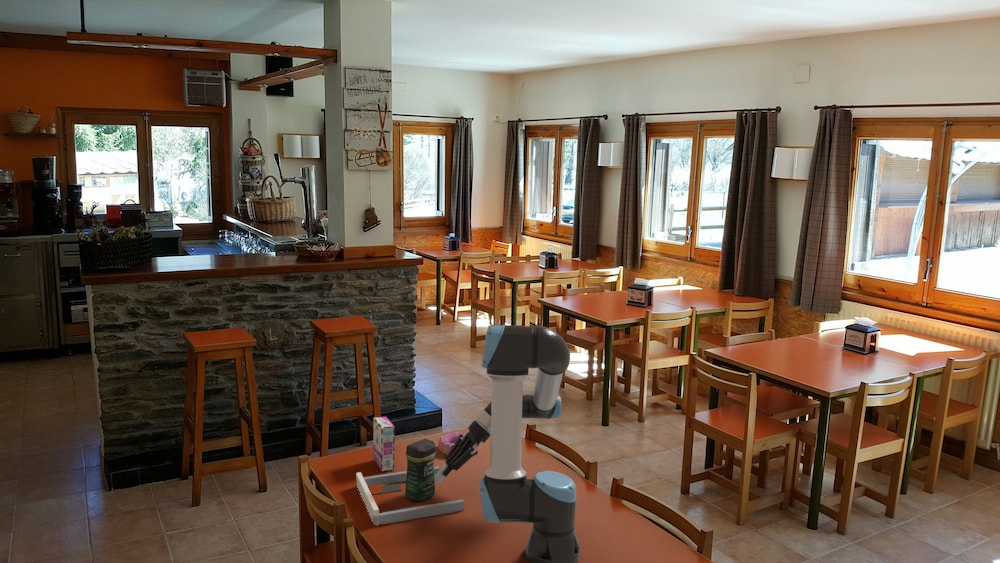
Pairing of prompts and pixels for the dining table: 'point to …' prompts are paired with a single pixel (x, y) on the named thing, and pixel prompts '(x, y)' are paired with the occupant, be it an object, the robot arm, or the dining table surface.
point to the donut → (448, 441)
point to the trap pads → (391, 488)
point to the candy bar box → (383, 443)
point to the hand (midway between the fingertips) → (435, 481)
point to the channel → (403, 513)
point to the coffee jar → (420, 470)
